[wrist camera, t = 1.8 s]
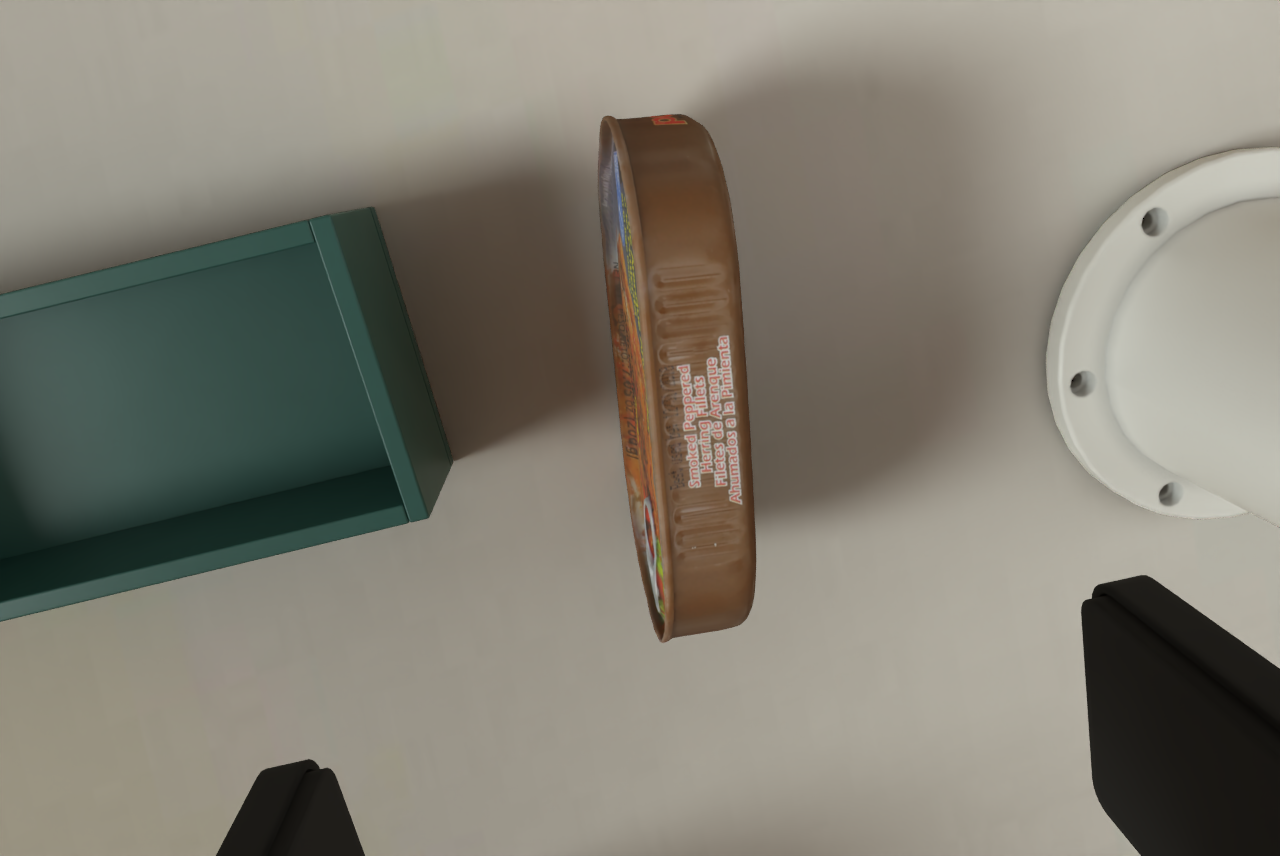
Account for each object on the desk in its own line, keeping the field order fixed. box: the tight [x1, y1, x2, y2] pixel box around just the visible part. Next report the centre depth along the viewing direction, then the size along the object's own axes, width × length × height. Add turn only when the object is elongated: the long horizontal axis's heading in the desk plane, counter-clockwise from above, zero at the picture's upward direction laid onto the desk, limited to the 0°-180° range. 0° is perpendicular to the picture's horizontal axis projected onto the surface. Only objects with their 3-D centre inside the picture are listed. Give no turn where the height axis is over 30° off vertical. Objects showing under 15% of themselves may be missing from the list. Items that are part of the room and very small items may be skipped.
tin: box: [598, 114, 756, 643], centre depth 26 cm, size 15×3×8 cm, turn 5°
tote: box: [0, 207, 453, 622], centre depth 26 cm, size 19×9×5 cm, turn 103°
